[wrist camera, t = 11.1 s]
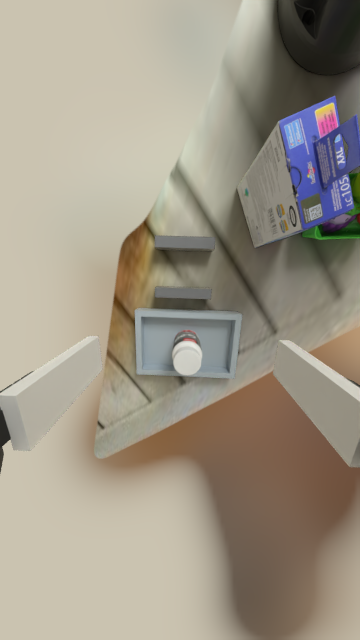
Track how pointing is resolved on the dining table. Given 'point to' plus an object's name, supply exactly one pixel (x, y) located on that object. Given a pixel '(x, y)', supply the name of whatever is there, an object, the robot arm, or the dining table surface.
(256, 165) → the ink cartridge box
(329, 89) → the dining table surface
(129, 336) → the dining table surface
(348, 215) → the fruit basket
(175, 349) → the pill bottle
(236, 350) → the parts tray
